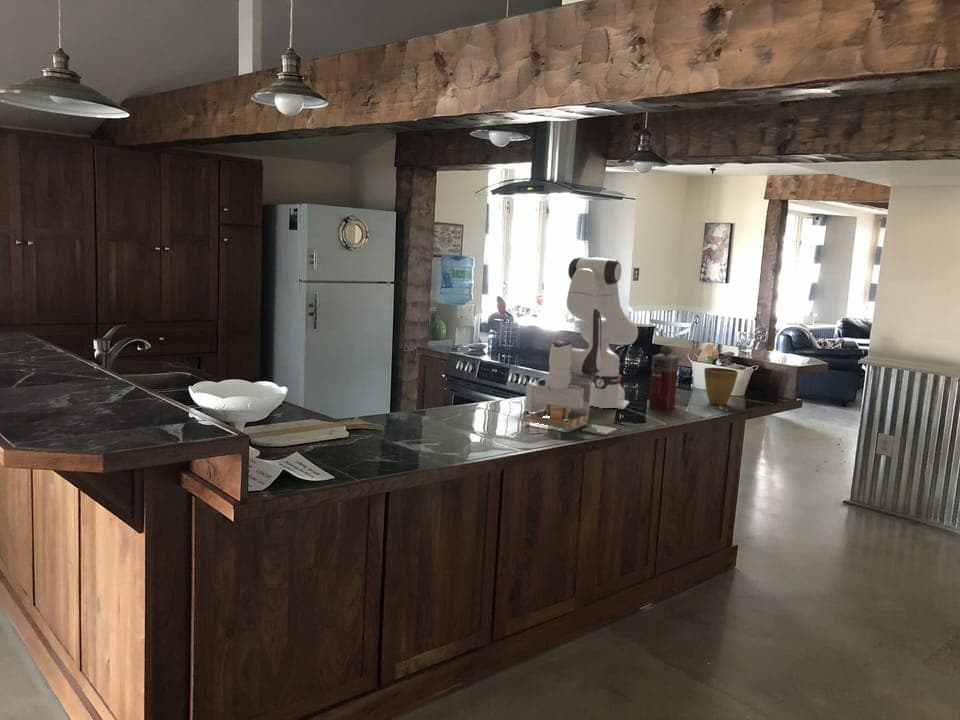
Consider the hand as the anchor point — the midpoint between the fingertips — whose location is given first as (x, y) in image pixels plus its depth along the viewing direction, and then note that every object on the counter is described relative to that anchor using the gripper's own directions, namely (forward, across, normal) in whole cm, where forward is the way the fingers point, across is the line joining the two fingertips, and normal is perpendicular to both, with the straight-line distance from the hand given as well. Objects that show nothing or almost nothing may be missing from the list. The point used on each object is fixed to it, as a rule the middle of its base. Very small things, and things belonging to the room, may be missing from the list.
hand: (557, 417), depth 304 cm
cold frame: (+3, 0, 0) cm, 3 cm away
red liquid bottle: (+3, -21, -62) cm, 66 cm away
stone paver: (+3, -17, -2) cm, 17 cm away
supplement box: (+3, +16, -13) cm, 21 cm away
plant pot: (+3, -39, -90) cm, 98 cm away
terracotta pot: (+3, 0, 0) cm, 3 cm away
